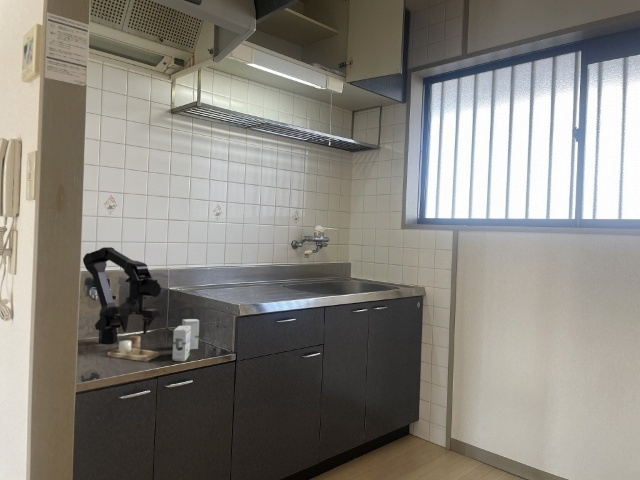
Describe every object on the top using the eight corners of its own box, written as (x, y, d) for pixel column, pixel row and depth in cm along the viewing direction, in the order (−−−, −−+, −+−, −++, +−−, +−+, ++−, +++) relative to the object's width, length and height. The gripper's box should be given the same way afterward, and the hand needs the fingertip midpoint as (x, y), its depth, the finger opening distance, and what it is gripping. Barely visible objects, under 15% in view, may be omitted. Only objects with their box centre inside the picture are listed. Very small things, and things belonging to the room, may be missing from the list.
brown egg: (125, 350, 195) (126, 337, 195) (132, 347, 199) (133, 335, 199) (135, 351, 194) (136, 338, 194) (142, 348, 198) (142, 336, 198)
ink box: (177, 354, 192) (178, 324, 192) (190, 355, 192) (191, 325, 192) (171, 360, 183) (173, 329, 183) (185, 361, 184) (186, 330, 183)
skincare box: (183, 351, 198) (185, 321, 197) (180, 348, 201) (181, 319, 201) (198, 349, 201) (199, 320, 201) (194, 347, 205) (196, 318, 205)
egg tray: (107, 357, 183) (107, 352, 183) (122, 352, 191) (122, 347, 191) (145, 363, 179) (145, 357, 179) (159, 357, 187) (159, 352, 187)
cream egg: (115, 355, 185) (116, 342, 185) (123, 352, 189) (124, 339, 189) (126, 356, 184) (126, 343, 183) (133, 353, 188) (133, 341, 188)
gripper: (102, 294, 191) (100, 334, 191) (144, 299, 186) (142, 339, 186) (121, 291, 202) (119, 329, 202) (161, 295, 197) (159, 334, 197)
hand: (134, 333), depth 197 cm, fingers open, 9 cm apart
